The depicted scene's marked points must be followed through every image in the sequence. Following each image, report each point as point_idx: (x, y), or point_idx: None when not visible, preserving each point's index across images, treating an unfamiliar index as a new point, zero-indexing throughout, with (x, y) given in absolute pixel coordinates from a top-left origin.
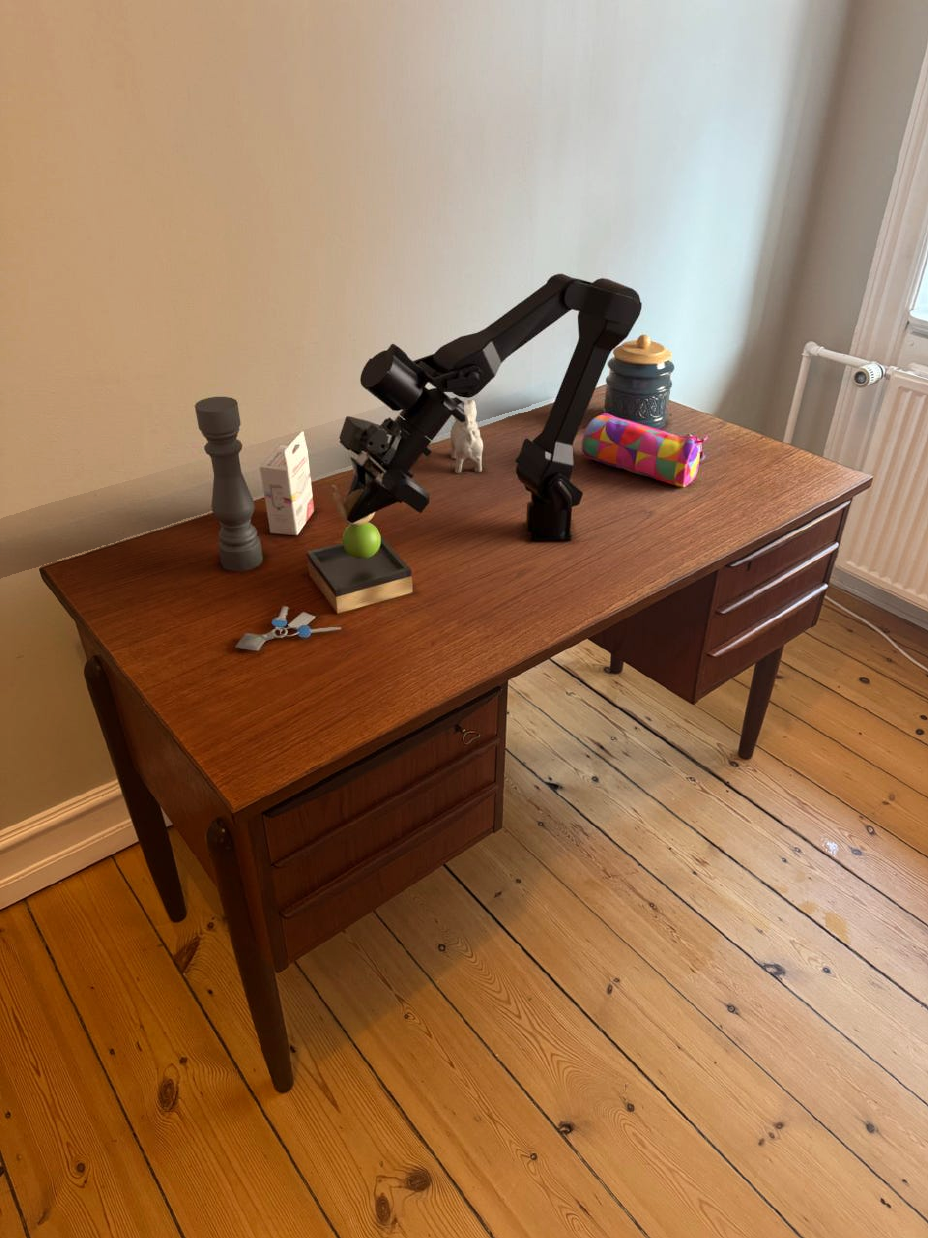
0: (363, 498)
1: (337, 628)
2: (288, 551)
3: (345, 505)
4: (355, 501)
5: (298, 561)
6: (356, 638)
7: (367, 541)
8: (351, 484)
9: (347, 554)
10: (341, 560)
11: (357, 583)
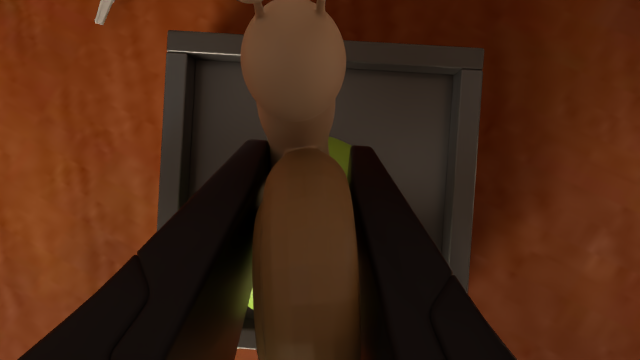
0: (104, 289)
1: (101, 12)
2: (631, 71)
3: (302, 151)
4: (258, 237)
5: (551, 75)
6: (57, 53)
7: None
8: (479, 322)
9: (415, 196)
10: (387, 158)
11: (165, 121)
